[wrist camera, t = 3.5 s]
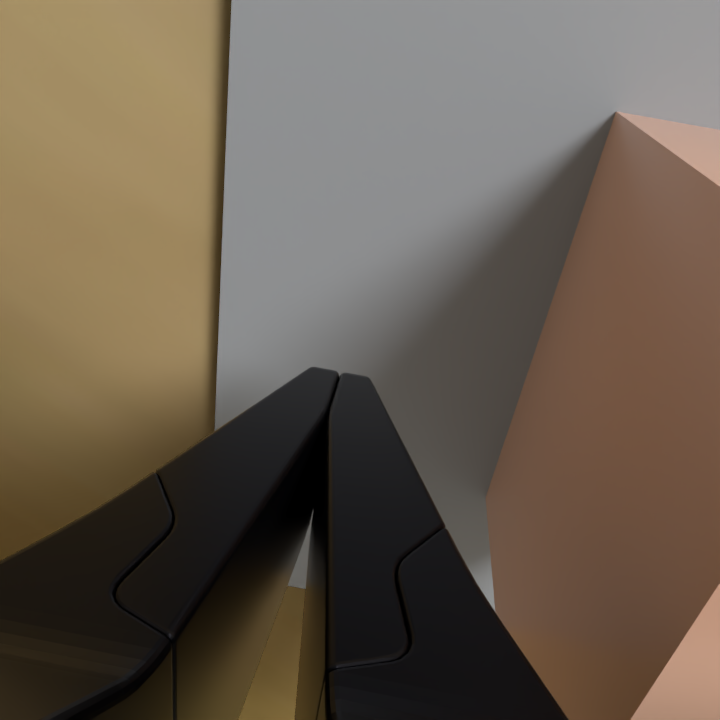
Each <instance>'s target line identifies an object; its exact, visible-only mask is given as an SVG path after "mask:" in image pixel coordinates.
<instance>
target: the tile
mask: <svg viewBox="0 0 720 720" xmlns="http://www.w3.org/2000/svg"><path fill="white" fill-rule="evenodd" d="M486 509H487V521H488V533H489V544H490V556H491V567H492V579H493V591H494V602H495V612H496V614H497V615H498V617H499V618H500V620H501V621H502V623H503V624H504V626H505V627H506V629H507V630H508V632H509V633H510V635H511V636H512V637H513V639H514V640H515V642H516V643H517V645H518V646H519V648H520V649H521V651H522V652H523V654H524V655H525V656H526V658H527V659H528V661H529V662H530V664H531V665H532V667H533V668H534V670H535V671H536V672H537V674H538V675H539V677H540V678H541V680H542V681H543V683H544V684H545V686H546V687H547V689H548V690H549V691H550V693H551V694H552V696H553V697H554V699H555V700H556V702H557V703H558V705H559V706H560V707H561V709H562V710H563V712H564V713H565V715H566V716H567V718H568V719H569V720H720V130H718V129H712V128H707V127H701V126H695V125H690V124H684V123H678V122H673V121H667V120H661V119H656V118H650V117H645V116H639V115H633V114H628V113H622V112H616V113H615V116H614V119H613V122H612V125H611V128H610V131H609V134H608V136H607V139H606V142H605V145H604V148H603V151H602V154H601V157H600V160H599V163H598V166H597V169H596V172H595V175H594V178H593V181H592V184H591V187H590V190H589V193H588V196H587V199H586V202H585V205H584V208H583V210H582V213H581V216H580V219H579V222H578V225H577V228H576V231H575V234H574V237H573V240H572V243H571V246H570V249H569V252H568V255H567V258H566V261H565V264H564V267H563V270H562V273H561V276H560V279H559V282H558V285H557V287H556V290H555V293H554V296H553V299H552V302H551V305H550V308H549V311H548V314H547V317H546V320H545V323H544V326H543V329H542V332H541V335H540V338H539V341H538V344H537V347H536V350H535V353H534V356H533V359H532V361H531V364H530V367H529V370H528V373H527V376H526V379H525V382H524V385H523V388H522V391H521V394H520V397H519V400H518V403H517V406H516V409H515V412H514V415H513V418H512V421H511V424H510V427H509V430H508V433H507V436H506V438H505V441H504V444H503V447H502V450H501V453H500V456H499V459H498V462H497V465H496V468H495V471H494V474H493V477H492V480H491V483H490V486H489V489H488V492H487V495H486Z"/></svg>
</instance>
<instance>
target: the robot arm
mask: <svg viewBox="0 0 720 720" xmlns="http://www.w3.org/2000/svg"><path fill="white" fill-rule="evenodd" d="M312 514H313V516H312ZM311 517H312V523H311V532H310V540H309V552H308V565H307V577H306V589H305V601H304V613H303V625H302V637H301V649H300V661H299V673H298V685H297V697H296V709H295V720H569V719H568V718H567V716H566V715H565V713H564V712H563V710H562V709H561V707H560V706H559V705H558V703H557V702H556V700H555V699H554V697H553V696H552V694H551V693H550V691H549V690H548V689H547V687H546V686H545V684H544V683H543V681H542V680H541V678H540V677H539V675H538V674H537V672H536V671H535V670H534V668H533V667H532V665H531V664H530V662H529V661H528V659H527V658H526V656H525V655H524V654H523V652H522V651H521V649H520V648H519V646H518V645H517V643H516V642H515V640H514V639H513V637H512V636H511V635H510V633H509V632H508V630H507V629H506V627H505V626H504V624H503V623H502V621H501V620H500V618H499V617H498V615H497V614H496V612H495V611H494V609H493V608H492V606H491V604H490V603H489V601H488V600H487V598H486V597H485V595H484V594H483V592H482V591H481V589H480V587H479V586H478V584H477V583H476V581H475V579H474V577H473V576H472V574H471V572H470V570H469V568H468V567H467V565H466V563H465V561H464V559H463V558H462V556H461V554H460V552H459V551H458V549H457V547H456V545H455V543H454V541H453V539H452V537H451V535H450V533H449V531H448V530H447V529H446V528H445V523H444V521H443V520H442V518H441V516H440V514H439V512H438V510H437V508H436V506H435V504H434V502H433V500H432V498H431V496H430V494H429V492H428V490H427V488H426V486H425V484H424V482H423V481H422V479H421V477H420V475H419V473H418V471H417V469H416V467H415V465H414V463H413V461H412V459H411V457H410V455H409V453H408V451H407V449H406V447H405V445H404V443H403V442H402V440H401V438H400V436H399V434H398V432H397V430H396V428H395V426H394V424H393V422H392V420H391V418H390V416H389V414H388V412H387V410H386V408H385V406H384V404H383V402H382V401H381V399H380V397H379V395H378V393H377V391H376V389H375V387H374V385H373V383H372V381H371V379H370V378H369V377H367V376H363V375H357V374H352V373H342V374H341V375H340V377H339V373H338V372H337V371H335V370H330V369H325V368H319V367H310V368H308V369H306V370H305V371H303V372H302V373H300V374H299V375H297V376H296V377H295V378H293V379H292V380H290V381H289V382H287V383H286V384H284V385H283V386H281V387H280V388H278V389H277V390H275V391H274V392H272V393H271V394H269V395H268V396H266V397H265V398H263V399H262V400H260V401H259V402H257V403H256V404H254V405H253V406H251V407H250V408H248V409H247V410H245V411H244V412H242V413H241V414H239V415H238V416H236V417H235V418H233V419H232V420H230V421H229V422H227V423H226V424H224V425H223V426H221V427H220V428H218V429H217V430H215V431H214V432H212V433H211V434H209V435H208V436H206V437H205V438H203V439H202V440H200V441H199V442H197V443H196V444H194V445H193V446H192V447H190V448H189V449H187V450H186V451H184V452H183V453H181V454H180V455H178V456H177V457H175V458H174V459H172V460H171V461H169V462H168V463H166V464H165V465H163V466H162V467H160V468H159V469H157V471H156V473H151V474H149V475H148V476H146V477H145V478H143V479H142V480H140V481H139V482H137V483H136V484H134V485H133V486H131V487H130V488H128V489H127V490H125V491H123V492H122V493H120V494H119V495H117V496H116V497H114V498H112V499H111V500H109V501H108V502H106V503H104V504H103V505H101V506H100V507H98V508H96V509H95V510H93V511H91V512H89V513H88V514H86V515H84V516H82V517H81V518H79V519H77V520H75V521H73V522H72V523H70V524H68V525H66V526H64V527H63V528H61V529H59V530H57V531H56V532H54V533H52V534H50V535H48V536H46V537H44V538H43V539H41V540H39V541H37V542H35V543H33V544H31V545H29V546H28V547H26V548H24V549H22V550H20V551H18V552H16V553H14V554H13V555H11V556H9V557H7V558H5V559H3V560H1V561H0V720H238V718H239V716H240V713H241V710H242V708H243V705H244V702H245V699H246V697H247V694H248V691H249V689H250V686H251V683H252V680H253V678H254V675H255V672H256V670H257V667H258V664H259V662H260V659H261V656H262V653H263V651H264V648H265V645H266V643H267V640H268V637H269V634H270V632H271V629H272V626H273V624H274V621H275V618H276V615H277V613H278V610H279V607H280V605H281V602H282V599H283V597H284V594H285V591H286V588H287V586H288V583H289V580H290V578H291V575H292V572H293V569H294V567H295V564H296V561H297V559H298V556H299V553H300V550H301V548H302V545H303V542H304V540H305V537H306V534H307V531H308V528H309V525H310V521H311Z"/></svg>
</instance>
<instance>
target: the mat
mask: <svg viewBox="0 0 720 720" xmlns="http://www.w3.org/2000/svg"><path fill="white" fill-rule="evenodd" d="M616 112H622V113H628V114H633V115H639V116H645V117H650V118H656V119H661V120H667V121H673V122H678V123H684V124H690V125H695V126H701V127H707V128H712V129H718V130H720V0H232V2H231V27H230V53H229V78H228V103H227V129H226V154H225V180H224V205H223V230H222V256H221V281H220V306H219V332H218V357H217V383H216V408H215V430H217V429H218V428H220V427H221V426H223V425H224V424H226V423H227V422H229V421H230V420H232V419H233V418H235V417H236V416H238V415H239V414H241V413H242V412H244V411H245V410H247V409H248V408H250V407H251V406H253V405H254V404H256V403H257V402H259V401H260V400H262V399H263V398H265V397H266V396H268V395H269V394H271V393H272V392H274V391H275V390H277V389H278V388H280V387H281V386H283V385H284V384H286V383H287V382H289V381H290V380H292V379H293V378H295V377H296V376H297V375H299V374H300V373H302V372H303V371H305V370H306V369H308V368H310V367H319V368H325V369H330V370H335V371H337V372H338V373H339V377H340V375H341V374H342V373H352V374H357V375H363V376H367V377H369V378H370V379H371V381H372V383H373V385H374V387H375V389H376V391H377V393H378V395H379V397H380V399H381V401H382V402H383V404H384V406H385V408H386V410H387V412H388V414H389V416H390V418H391V420H392V422H393V424H394V426H395V428H396V430H397V432H398V434H399V436H400V438H401V440H402V442H403V443H404V445H405V447H406V449H407V451H408V453H409V455H410V457H411V459H412V461H413V463H414V465H415V467H416V469H417V471H418V473H419V475H420V477H421V479H422V481H423V482H424V484H425V486H426V488H427V490H428V492H429V494H430V496H431V498H432V500H433V502H434V504H435V506H436V508H437V510H438V512H439V514H440V516H441V518H442V520H443V521H444V523H445V528H446V529H447V530H448V531H449V533H450V535H451V537H452V539H453V541H454V543H455V545H456V547H457V549H458V551H459V552H460V554H461V556H462V558H463V559H464V561H465V563H466V565H467V567H468V568H469V570H470V572H471V574H472V576H473V577H474V579H475V581H476V583H477V584H478V586H479V587H480V589H481V591H482V592H483V594H484V595H485V597H486V598H487V600H488V601H489V603H490V604H491V606H492V608H493V609H494V611H495V602H494V591H493V579H492V567H491V556H490V544H489V533H488V521H487V509H486V495H487V492H488V489H489V486H490V483H491V480H492V477H493V474H494V471H495V468H496V465H497V462H498V459H499V456H500V453H501V450H502V447H503V444H504V441H505V438H506V436H507V433H508V430H509V427H510V424H511V421H512V418H513V415H514V412H515V409H516V406H517V403H518V400H519V397H520V394H521V391H522V388H523V385H524V382H525V379H526V376H527V373H528V370H529V367H530V364H531V361H532V359H533V356H534V353H535V350H536V347H537V344H538V341H539V338H540V335H541V332H542V329H543V326H544V323H545V320H546V317H547V314H548V311H549V308H550V305H551V302H552V299H553V296H554V293H555V290H556V287H557V285H558V282H559V279H560V276H561V273H562V270H563V267H564V264H565V261H566V258H567V255H568V252H569V249H570V246H571V243H572V240H573V237H574V234H575V231H576V228H577V225H578V222H579V219H580V216H581V213H582V210H583V208H584V205H585V202H586V199H587V196H588V193H589V190H590V187H591V184H592V181H593V178H594V175H595V172H596V169H597V166H598V163H599V160H600V157H601V154H602V151H603V148H604V145H605V142H606V139H607V136H608V134H609V131H610V128H611V125H612V122H613V119H614V116H615V113H616ZM312 516H313V514H312ZM311 523H312V517H311V521H310V525H309V528H308V531H307V534H306V537H305V540H304V542H303V545H302V548H301V550H300V553H299V556H298V559H297V561H296V564H295V567H294V569H293V572H292V575H291V578H290V580H289V583H288V586H292V587H297V588H302V589H306V577H307V565H308V552H309V540H310V532H311Z"/></svg>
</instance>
